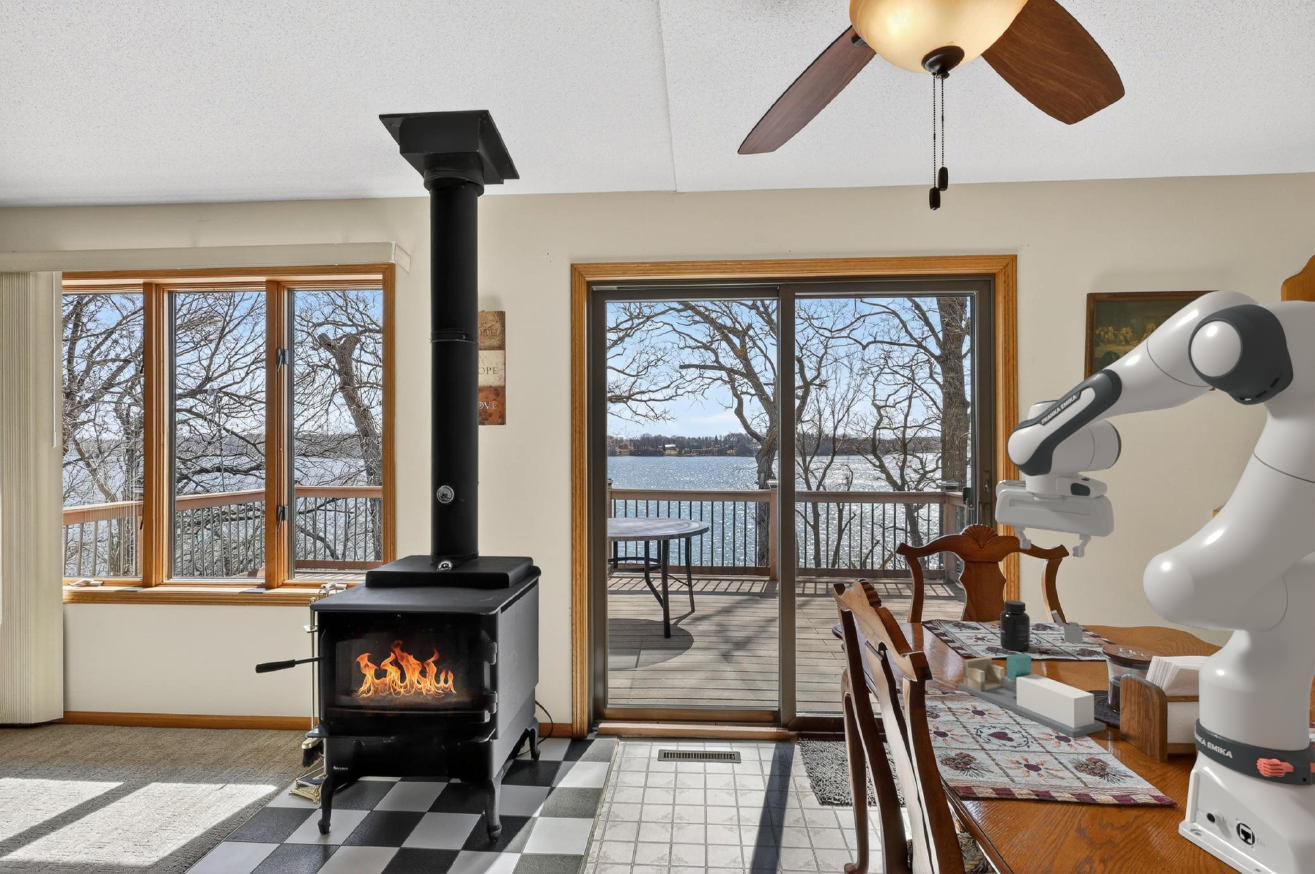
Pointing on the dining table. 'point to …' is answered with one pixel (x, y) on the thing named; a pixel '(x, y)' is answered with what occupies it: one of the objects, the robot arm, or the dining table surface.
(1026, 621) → the supplement bottle
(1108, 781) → the dining table surface
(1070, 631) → the lighter
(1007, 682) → the slip tube
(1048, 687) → the tube stand
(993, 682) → the socket block
